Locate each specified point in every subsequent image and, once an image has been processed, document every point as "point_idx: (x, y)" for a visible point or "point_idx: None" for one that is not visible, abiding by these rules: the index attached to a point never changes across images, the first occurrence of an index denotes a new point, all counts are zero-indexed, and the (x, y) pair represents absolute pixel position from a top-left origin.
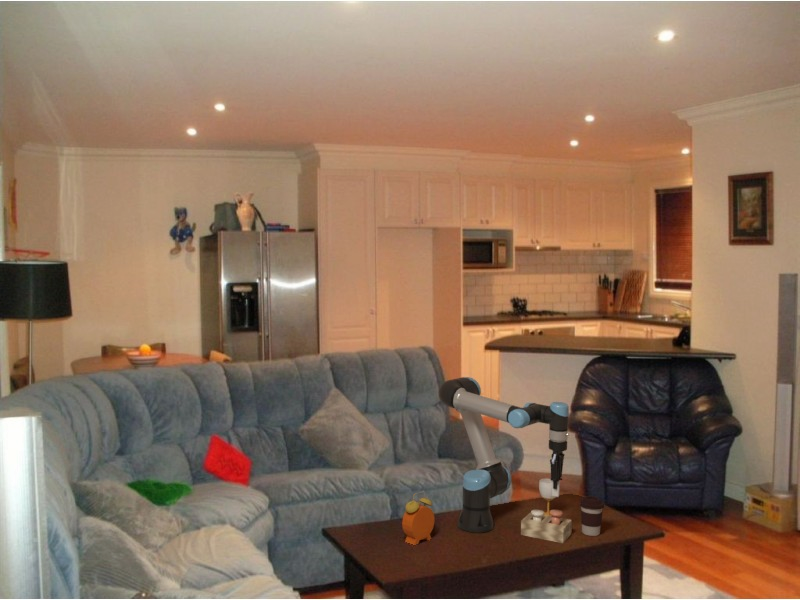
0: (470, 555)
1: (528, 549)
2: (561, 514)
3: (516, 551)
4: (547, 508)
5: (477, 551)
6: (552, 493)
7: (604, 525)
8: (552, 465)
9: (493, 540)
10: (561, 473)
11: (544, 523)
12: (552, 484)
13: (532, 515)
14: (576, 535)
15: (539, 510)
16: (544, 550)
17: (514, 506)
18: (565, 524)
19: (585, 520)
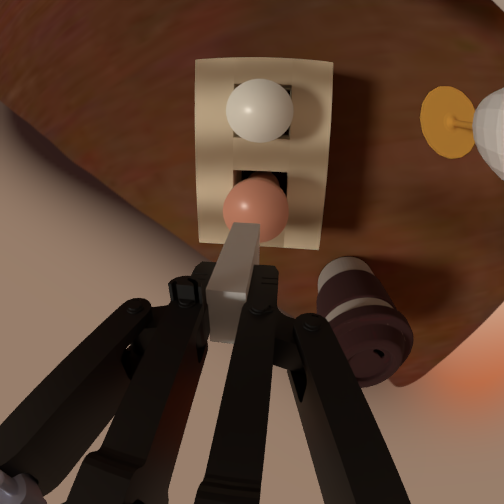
0: (22, 52)
1: (107, 143)
2: None
3: (80, 121)
4: (464, 122)
5: (42, 47)
6: (231, 231)
7: (420, 299)
8: (16, 437)
9: (119, 26)
10: (303, 391)
11: (214, 158)
12: (216, 265)
13: (293, 79)
14: None
15: (282, 115)
16: (126, 186)
17: (476, 11)
18: None
19: (321, 298)
